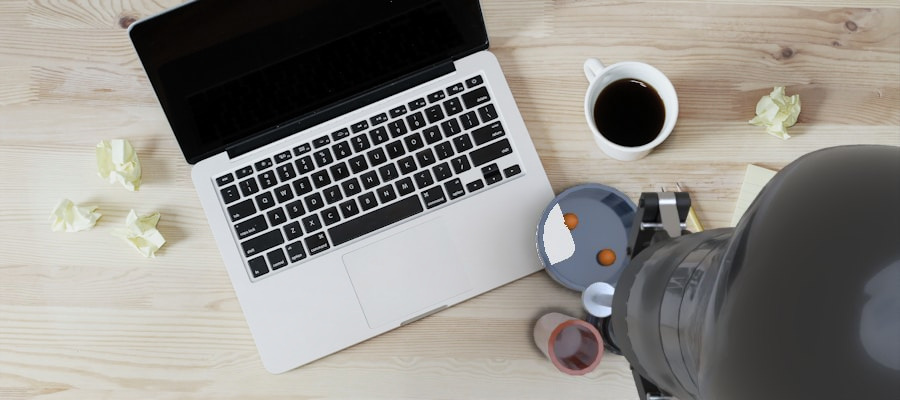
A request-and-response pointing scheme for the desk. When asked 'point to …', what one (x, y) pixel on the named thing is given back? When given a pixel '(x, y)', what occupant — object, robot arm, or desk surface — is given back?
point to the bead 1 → (570, 221)
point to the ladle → (598, 299)
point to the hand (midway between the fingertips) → (634, 305)
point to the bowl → (591, 235)
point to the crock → (569, 343)
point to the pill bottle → (605, 332)
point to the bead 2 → (607, 257)
